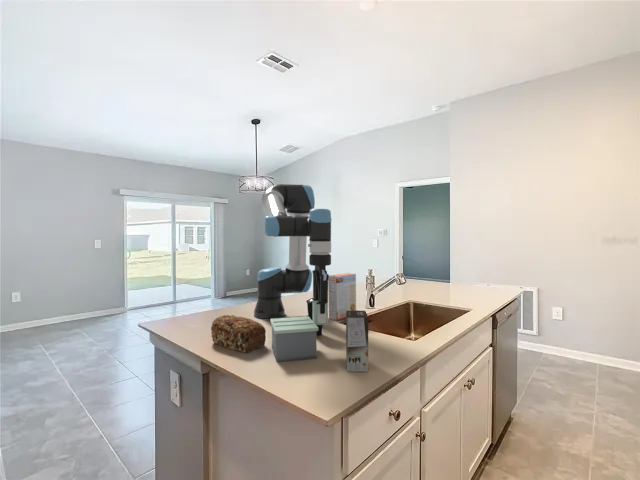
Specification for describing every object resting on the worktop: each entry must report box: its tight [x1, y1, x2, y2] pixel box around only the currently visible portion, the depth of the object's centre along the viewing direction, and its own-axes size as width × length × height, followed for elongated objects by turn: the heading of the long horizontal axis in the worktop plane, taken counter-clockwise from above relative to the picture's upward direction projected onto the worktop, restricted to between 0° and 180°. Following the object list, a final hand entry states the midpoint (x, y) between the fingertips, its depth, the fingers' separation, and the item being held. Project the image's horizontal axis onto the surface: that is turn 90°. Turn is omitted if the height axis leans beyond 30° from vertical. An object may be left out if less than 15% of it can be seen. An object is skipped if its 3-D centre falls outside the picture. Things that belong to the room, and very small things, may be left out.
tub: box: [271, 327, 317, 363], centre depth 111 cm, size 14×13×9 cm
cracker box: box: [328, 272, 357, 321], centre depth 158 cm, size 14×6×21 cm, turn 133°
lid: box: [269, 301, 329, 334], centre depth 112 cm, size 15×19×8 cm
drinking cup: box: [306, 297, 324, 338], centre depth 131 cm, size 8×8×20 cm
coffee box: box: [345, 309, 369, 373], centre depth 100 cm, size 9×6×16 cm
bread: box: [210, 314, 267, 354], centre depth 119 cm, size 19×11×10 cm, turn 54°
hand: (320, 320), depth 114 cm, fingers open, 4 cm apart
